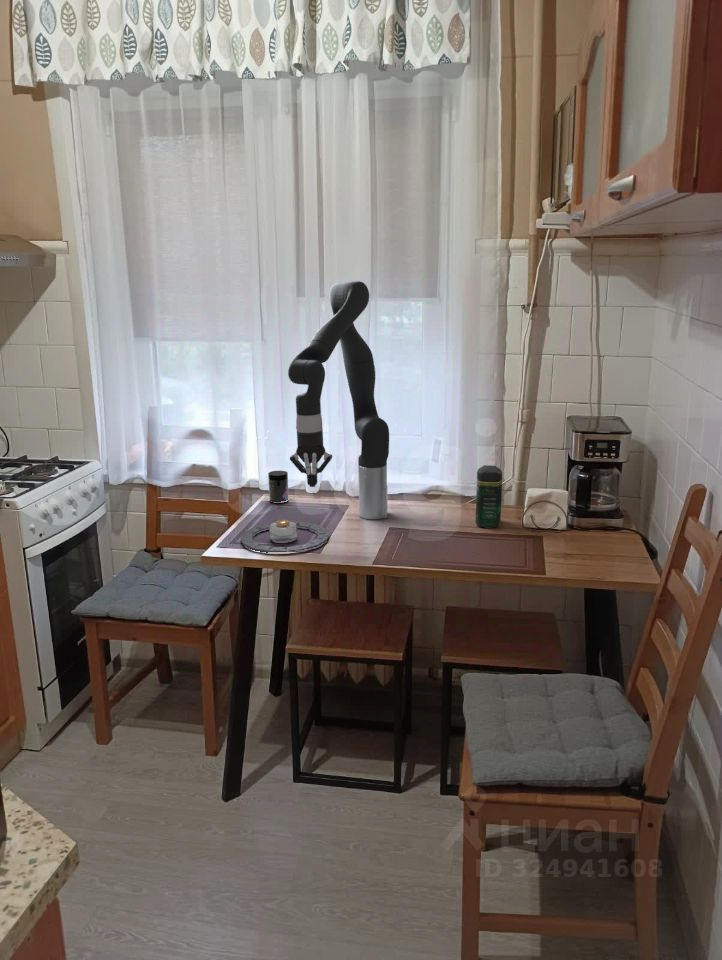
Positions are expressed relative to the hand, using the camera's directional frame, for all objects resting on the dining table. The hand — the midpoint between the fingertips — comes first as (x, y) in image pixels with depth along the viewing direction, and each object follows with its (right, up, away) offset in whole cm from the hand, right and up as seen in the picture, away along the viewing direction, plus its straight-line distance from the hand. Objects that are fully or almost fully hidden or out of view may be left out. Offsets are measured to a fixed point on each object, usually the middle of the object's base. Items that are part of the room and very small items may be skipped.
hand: (312, 486), depth 234 cm
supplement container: (-14, -6, +43) cm, 46 cm away
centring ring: (-9, -16, +6) cm, 19 cm away
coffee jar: (+55, -12, +16) cm, 58 cm away
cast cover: (-9, -16, +6) cm, 20 cm away
